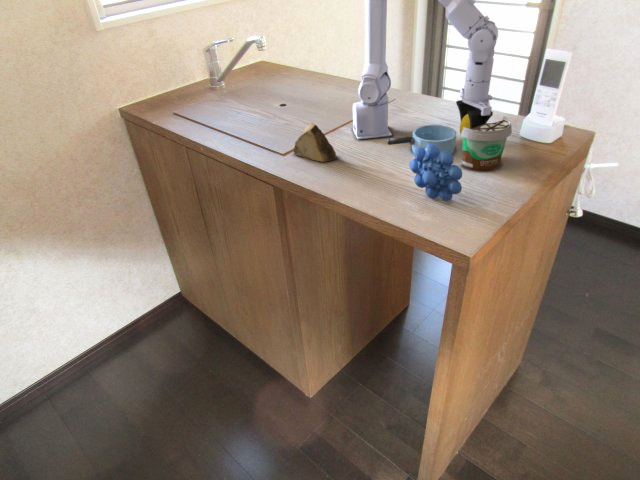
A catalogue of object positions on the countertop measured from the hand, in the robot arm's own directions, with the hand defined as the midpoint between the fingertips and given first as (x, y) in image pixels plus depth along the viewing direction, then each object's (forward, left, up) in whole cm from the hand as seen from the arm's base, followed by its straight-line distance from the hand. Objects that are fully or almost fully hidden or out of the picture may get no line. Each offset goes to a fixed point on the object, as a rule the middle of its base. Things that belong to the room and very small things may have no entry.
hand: (470, 133), depth 114 cm
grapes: (-18, -25, -3) cm, 31 cm away
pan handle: (-19, -2, 0) cm, 19 cm away
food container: (-1, -14, -3) cm, 14 cm away
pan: (-10, -2, -2) cm, 11 cm away
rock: (-40, +2, -3) cm, 40 cm away
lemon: (0, 0, -3) cm, 3 cm away
